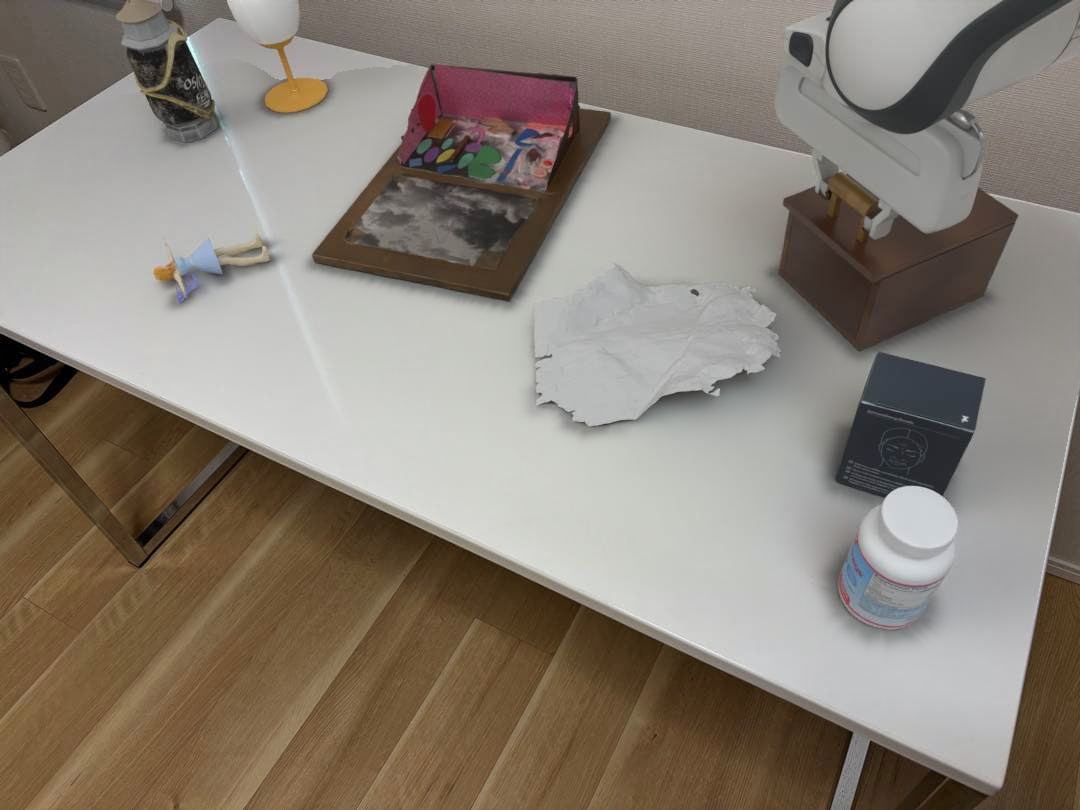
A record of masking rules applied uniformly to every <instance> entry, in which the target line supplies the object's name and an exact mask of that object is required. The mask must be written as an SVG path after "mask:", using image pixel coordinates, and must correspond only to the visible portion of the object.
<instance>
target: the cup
mask: <svg viewBox="0 0 1080 810" xmlns="http://www.w3.org/2000/svg"><path fill="white" fill-rule="evenodd" d="M226 2H227V6H228V8H229V10H230V12H231V14H232V17H233V19H234V20H235V22H236V23H237V24H238V26H239V28H240V29H241V31H242V32H243V33H244V34H245V35H246V36H247V37H248V39H250V40H251V41H252V42H254V43H255V44H257V45H259V46H261V47H263V48H265V49H269V50H273V49H274V50H276V51H277V53H278V56H279V58H280V62H281V65H282V67H283V70H284V73H285V76H286V79H287V80H285V81H284V82H281V83H280V84H277V85H276V86H274V87H273V88H272V89H270V90H269V91H268V92H267V93H266V96H265V98H264V104H265V107H266V108H268V109H269V110H271V111H272V112H277V113H281V114H287V113H297V112H298V113H299V112H301V111H304V110H308V109H310V108H312V107H314V106H316V105H319V103H321V102H322V100H324V99H325V98H326V96H327V93H328V91H329V89H328V85H327V83H326V82H324V81H322V80H321V79H319V78H313V77H297V78H294V75H293V73H292V70H291V67H290V64H289V61H288V58H287V55H286V52H285V49H284V48H285V47H286V46H288V45H289V44H290V43H292V41H293V39H294V37H295V36H296V34H297V33H298V30H299V25H300V19H301V18H300V17H301V15H300V2H299V0H226ZM296 89H297V90H296ZM292 90H296V91H292Z"/></svg>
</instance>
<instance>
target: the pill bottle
mask: <svg viewBox="0 0 1080 810" xmlns="http://www.w3.org/2000/svg"><path fill="white" fill-rule="evenodd" d="M958 530H959V519H958V515H957V513H956V511H955V509H954V507H953V506H952V504H951V503H950V502H949V500H947V499H946V498H945V497H944V496H941V495H940V494H938V493H936V492H934V491H932V490H930V489H927V488H924V487H919V486H904V487H900V488H897V489H895V490H893V491H892V492H891V493H889V494H888V495H887V496H886V497H884V499H883V501H882V503H880V504H879V505H876V506H874V507H872V509H871V510H869V511H868V512H867V514H866V515H865V516H864V517H863V519H862V521H861V523H860V525H859V527H858V529H857V531H856V533H855V534H856V535H855V536H854V539H853V541H852V544H851V546H850V548H849V551H848V553H847V556H846V558H845V560H844V563H843V564H842V568H841V570H840V573H839V576H838V581H837V582H838V583H837V588H838V589H837V590H838V594H839V597H840V600H841V602H842V603H843V605H844V607H845V608H846V610H847V611H848V612H849V613H850V614H851V615H852V616H853V617H855V618H856V619H857V620H859V621H861V622H862V623H864V624H866V625H868V626H871V627H874V628H878V629H881V630H901V629H904V628H908V627H909V626H911V625H912V624H914V623H915V622H916V621H918V619H920V617H921V616H922V615H923V613H924V612H925V610H926V608H927V606H928V605H929V603H930V601H931V600H932V598H933V597H934V595H935V594H936V593H937V591H938V589H939V588H940V586H941V584H942V583H943V581H944V579H945V578H946V577H947V574H948V573H949V571H950V569H951V568H952V566H953V564H954V562H955V558H956V553H957V546H956V545H957V544H956V540H955V537H956V535H957V533H958Z"/></svg>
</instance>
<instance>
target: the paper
mask: <svg viewBox="0 0 1080 810" xmlns="http://www.w3.org/2000/svg"><path fill="white" fill-rule="evenodd" d="M611 263H612V264H613V265H614V266H615V267H613V268H611V269H609V270H607V271H605V272H604V274H602V275H600V276H598V277H596V278H595V279H593V280H592V281H591V282H589V283H588V284H587V285H586V286H584V287H583V288H580V289H578V290H576V291H575V292H573V293H571V294H568V295H564V296H562V297H558V298H552V299H548V300H544V301H540V302H539V301H538V302H536V303H535V302H534V303H533V322H534V323H533V324H534V325H533V329H534V330H533V331H534V358H535V359H536V358H543V357H544V356H547V357H546V358H543V359H540V360H538V361H536V362H534V363H535V368H538V369H537V370H535V383H537V384H536V385H535V393H537V394H539V393H540V394H541V396H539V397H538V398H536V399H535V406H536V407H538V406H539V405H542V404H544V403H549V402H554V403H555V404H557V407H558V408H561V409H564V411H566V412H567V413H571V415H572V419H571V422H578V423H579V422H580V423H585V424H586V426H587V427H589V428H590V427H596V426H601V425H605V424H611V423H614V422H618V421H627V420H631V421H632V420H633V421H636V420H637V419H639V418H640V417H641V416H642V415H643V414H644V413H645V412H646V411H647V410H648V409H649V408H650V407H651V406H653V405H654V404H655V403H657V402H658V401H659V399H660V398H662V397H663V396H668V395H672V394H675V393H681V392H692V391H694V392H695V391H702V392H704V393H705V394H708V395H710V396H714V397H718V396H720V393H721V392H720V391H721V388H720V387H718V388H717V389H716V390H714V389H715V386H712V385H713V384H715V383H716V382H717V381H721V380H727V379H730V378H733V377H734V376H735V375H736V374H740V373H743V370H744V371H746V375H749V374H750V373H759V372H763V371H764V370H765V369H766V368H765V367H764V366H763V364H764V363H765V364H766V363H767V360H769V359H770V358H771V357H772V356H774V357H776V358H778V359H780V358H781V353H782V351H781V349H780V348H779V347H778V345H779V344H778V342H777V341H778V340H780V337H779V335H778V334H777V333H775V332H773V330H771V329H770V328H768V327H769V326H770V325H771V324H772V322H774V321H775V318H776V317H777V316H778V315H777V313H776V312H773V311H771V310H770V308H769V307H768V306H765V304H764V303H763V304H760V303H759V302H758V301H757V300H755V299H754V298H753V297H754V295H753V294H752V293H754V292H756V291H757V289H756V287H752V288H751V286H750V285H748V286H744V287H742V289H741V286H736V287H734V285H733V286H732V285H730V284H729V283H727V282H725V281H723V282H718V283H706V282H705V283H695V284H693V285H692V284H691V285H688V284H686V283H680V284H677V283H669V284H668V283H667V284H663V285H658V286H652V285H651V286H648V285H643V284H641V283H640V282H639V281H638V280H636V279H635V278H634V276H632V275H631V273H629V271H627V270H626V269H625V268H624V267H623V266H622V265H620V264H618V263H615V262H613V261H611ZM692 290H695V291H697V293H698V296H697V295H696V294H694V293H692ZM550 355H551V357H548V356H550ZM713 390H714V391H713ZM711 391H713V392H711ZM709 392H710V393H709Z"/></svg>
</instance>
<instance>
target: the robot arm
mask: <svg viewBox="0 0 1080 810" xmlns="http://www.w3.org/2000/svg"><path fill="white" fill-rule="evenodd" d="M782 48H783V51H784V52H785V53H784V54H783V56H782V58H781V60H780V63H779V66H778V72H777V77H776V82H775V83H776V84H775V92H774V100H773V104H774V105H773V106H774V110H775V114H776V117H777V120H778V122H780V124H782V126H785V127H786V128H787V129H788V130H789V131H791V132H792V133H793V134H794V135H796V136H797V137H798V138H800V139H801V140H803V141H804V142H805V143H807V144H808V145H809V146H810V147H812V150H811V158H812V162H813V167H814V171H815V175H816V183H815V186H816V187H815V192H816V193H818V194H819V195H820V196H822V197H823V198H824V199H825V200H830V199H831V195H832V192H831V191H830V190H829V189H828V182H829V180H830V179H831V178H832V177H833V176H834V175H835V174H837V173H839V172H840V170H841V171H842V172H843V173H844V174H848V175H849V176H850V177H852V178H853V179H854V180H856V181H857V182H858V183H859V184H861V185H862V186H863V187H865V188H866V189H867V190H868V191H870V192H871V193H872V194H874V195H875V196H876V197H878V198H879V199H880V200H879V203H878V206H879V208H881V209H880V210H878V211H876V212H875V213H871V214H868V215H865V218H864V225H863V226H862V230H863V231H864V232H865V233H866V234H868V235H869V236H870V237H871V238H872V239H874V240H876V239H879V238H881V237H884V236H886V235H887V234H888V233H889V232H890V229H891V226H892V223H893V220H894V218H896V217H897V216H899V215H901V216H902V217H903V218H905V219H906V220H907V221H909V222H910V223H911V224H912V225H914V226H915V227H916V228H918V229H919V230H920V231H921V232H923V233H926V234H930V233H934V232H937V231H940V230H943V229H946V228H949V227H951V226H953V225H955V224H957V223H959V222H961V221H963V220H964V219H965V218H967V217H968V215H969V214H970V212H971V209H972V207H973V203H974V200H975V197H976V193H977V189H978V187H979V185H980V182H981V181H980V180H981V175H982V171H983V166H984V159H985V157H986V154H987V151H988V147H989V140H988V138H987V137H986V136H985V132H984V130H983V129H982V127H981V125H980V124H979V122H980V118H979V117H978V116H977V115H976V114H975V113H974V112H973V111H971V110H970V109H968V108H965V107H967V106H970V105H971V104H975V103H977V102H978V101H980V100H983V99H985V98H987V97H989V96H992V95H994V94H996V93H998V92H1001V91H1003V90H1005V89H1008V88H1010V87H1012V86H1014V85H1017V84H1019V83H1020V82H1023V81H1025V80H1028V79H1030V78H1032V77H1033V76H1035V75H1037V74H1040V73H1043V72H1045V71H1047V70H1049V69H1051V68H1054V67H1056V66H1058V65H1060V64H1063V63H1065V62H1067V61H1069V60H1071V59H1073V58H1075V57H1077V56H1079V55H1080V0H835V2H834V5H833V7H832V10H828V11H824V12H821V13H819V14H816V15H813V16H809V17H807V18H805V19H802V20H800V21H797V22H794V23H793V24H790V25H788V26H786V28H785V29H784V31H783V37H782ZM839 169H840V170H839Z"/></svg>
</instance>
